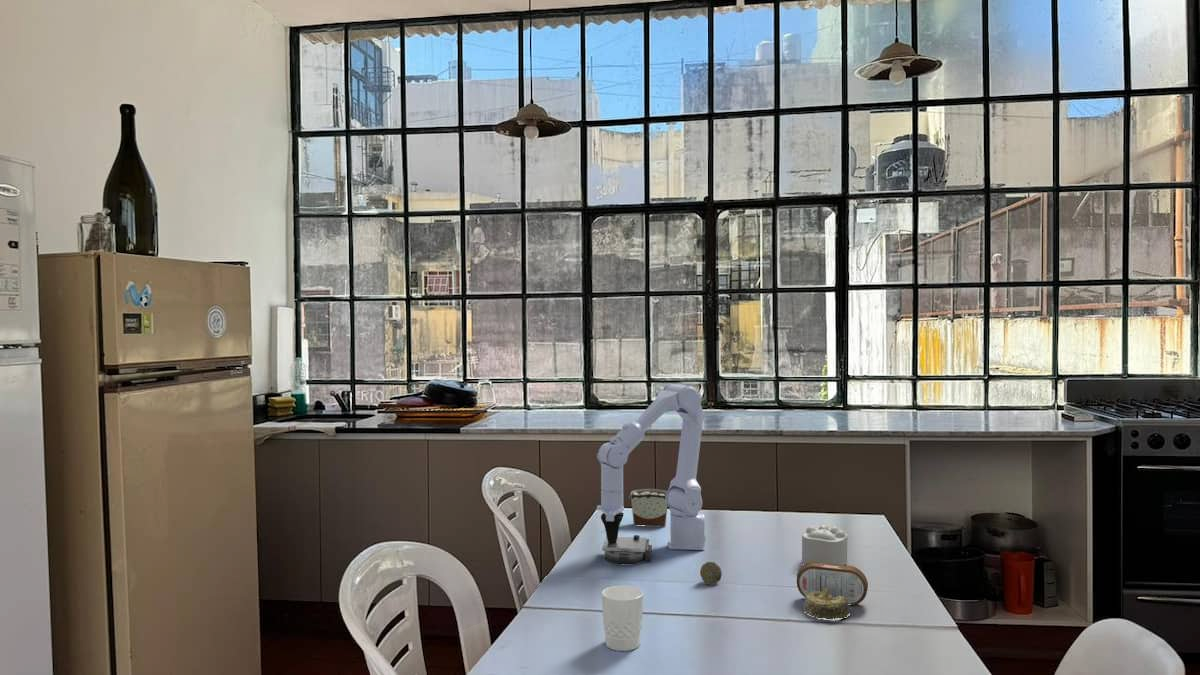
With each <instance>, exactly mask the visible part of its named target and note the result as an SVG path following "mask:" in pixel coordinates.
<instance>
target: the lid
mask: <svg viewBox="0 0 1200 675" xmlns="http://www.w3.org/2000/svg"><path fill="white" fill-rule="evenodd" d="M649 545H650V539H649V538H647V537H641V536H640V535H637V534H635V535H633V536H632V537H631V536H618V537H617V541H616V543H609V542H608V540H607V535H606V536H605V539H604V542H603V545H602V552H603V551H604V552H605V551H627V552H645V550H646V551H648V549H649Z"/></svg>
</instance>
